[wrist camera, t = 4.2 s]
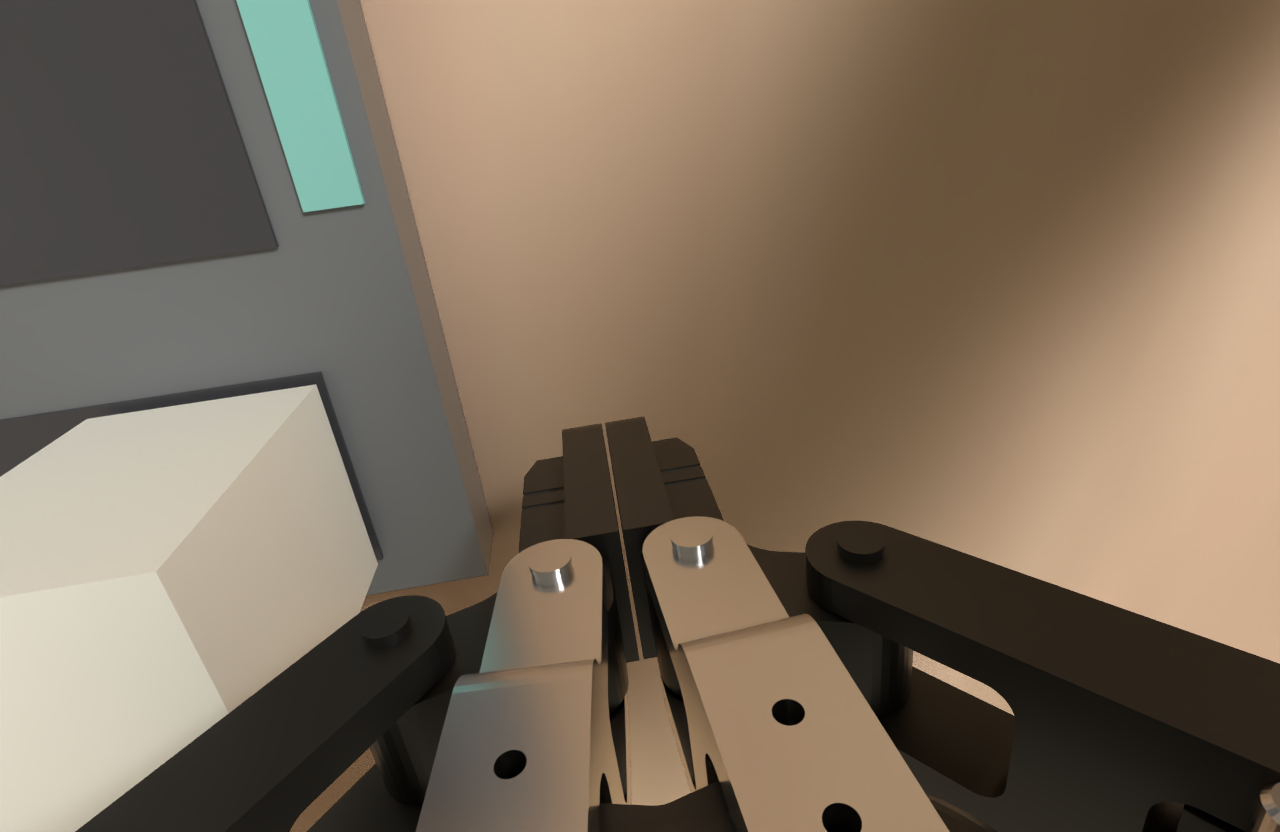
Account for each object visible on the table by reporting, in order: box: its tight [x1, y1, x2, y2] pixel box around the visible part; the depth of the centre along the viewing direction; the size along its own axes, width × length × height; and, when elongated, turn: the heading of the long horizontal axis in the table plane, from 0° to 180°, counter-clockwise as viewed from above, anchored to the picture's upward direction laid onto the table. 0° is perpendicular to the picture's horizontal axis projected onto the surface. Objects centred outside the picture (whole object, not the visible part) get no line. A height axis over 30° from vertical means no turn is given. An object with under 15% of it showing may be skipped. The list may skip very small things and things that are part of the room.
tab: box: [0, 384, 378, 832], centre depth 11 cm, size 4×4×6 cm
